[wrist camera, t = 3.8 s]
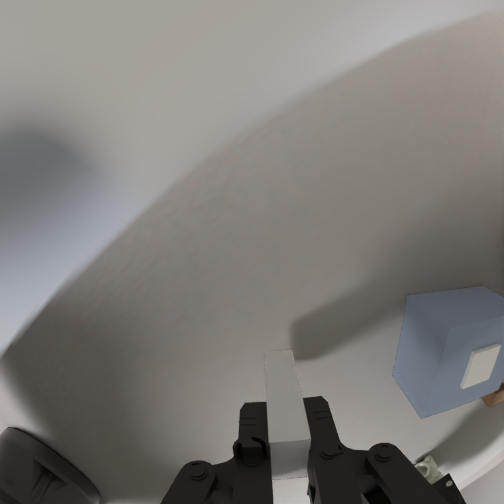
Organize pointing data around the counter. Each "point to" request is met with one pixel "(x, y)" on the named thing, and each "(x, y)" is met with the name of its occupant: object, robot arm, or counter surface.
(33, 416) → the counter surface
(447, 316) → the blue block
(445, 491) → the pneumatic valve
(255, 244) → the counter surface
